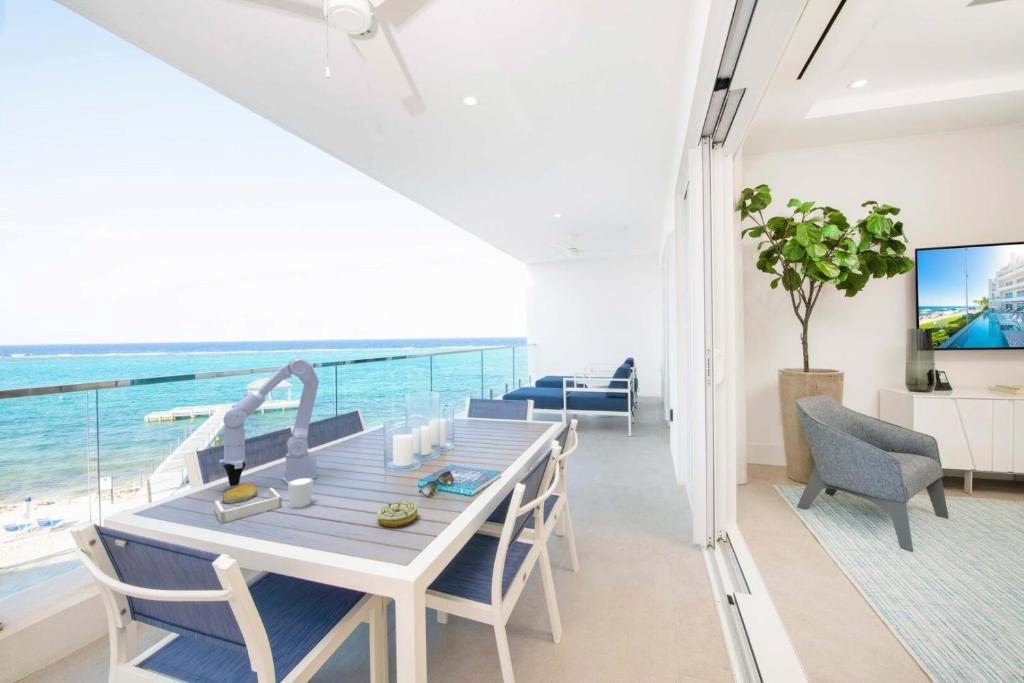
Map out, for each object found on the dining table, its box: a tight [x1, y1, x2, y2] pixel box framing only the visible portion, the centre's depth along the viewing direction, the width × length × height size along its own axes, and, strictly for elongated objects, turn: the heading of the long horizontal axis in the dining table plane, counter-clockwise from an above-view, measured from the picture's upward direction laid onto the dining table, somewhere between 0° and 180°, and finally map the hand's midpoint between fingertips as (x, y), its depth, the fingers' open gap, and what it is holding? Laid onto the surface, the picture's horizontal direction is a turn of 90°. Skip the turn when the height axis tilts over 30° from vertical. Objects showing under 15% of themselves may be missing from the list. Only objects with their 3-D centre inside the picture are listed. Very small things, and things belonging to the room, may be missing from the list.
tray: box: [214, 487, 283, 524], centre depth 113 cm, size 15×11×3 cm
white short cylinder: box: [287, 478, 314, 508], centre depth 116 cm, size 7×7×7 cm
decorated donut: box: [376, 501, 418, 528], centre depth 106 cm, size 10×11×4 cm
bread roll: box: [221, 483, 259, 504], centre depth 121 cm, size 8×9×4 cm
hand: (234, 485), depth 127 cm, fingers closed
